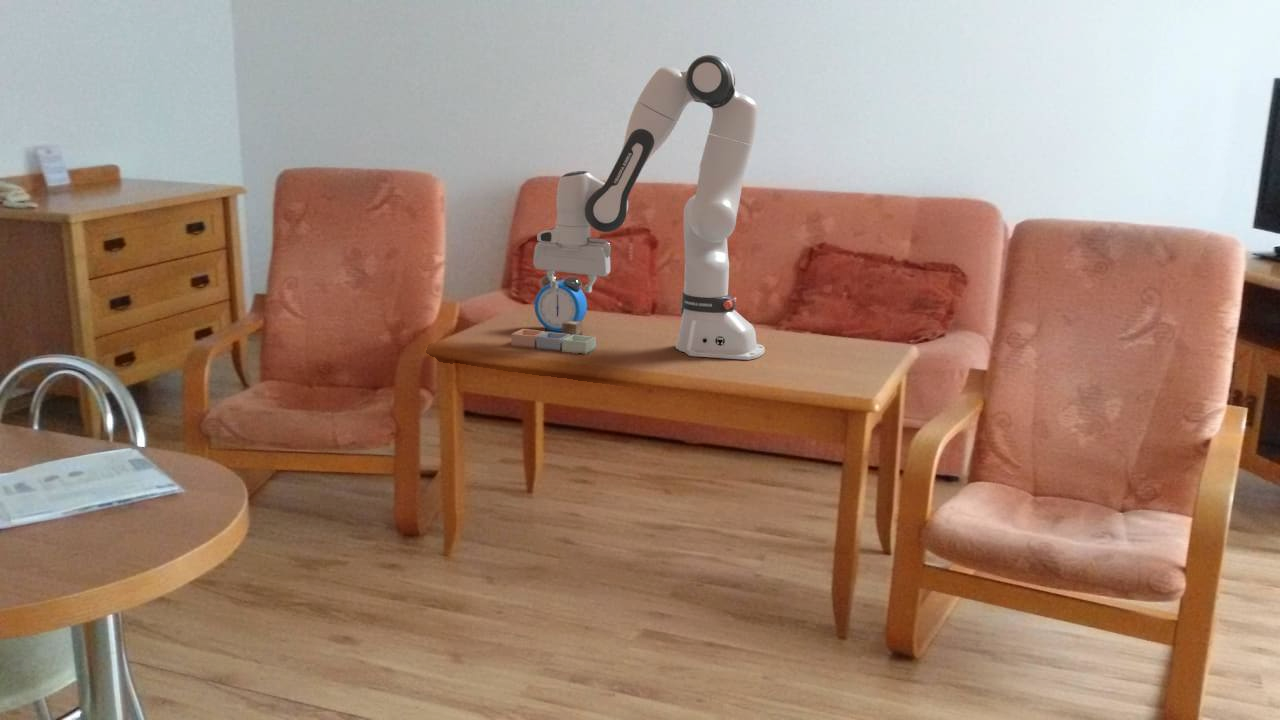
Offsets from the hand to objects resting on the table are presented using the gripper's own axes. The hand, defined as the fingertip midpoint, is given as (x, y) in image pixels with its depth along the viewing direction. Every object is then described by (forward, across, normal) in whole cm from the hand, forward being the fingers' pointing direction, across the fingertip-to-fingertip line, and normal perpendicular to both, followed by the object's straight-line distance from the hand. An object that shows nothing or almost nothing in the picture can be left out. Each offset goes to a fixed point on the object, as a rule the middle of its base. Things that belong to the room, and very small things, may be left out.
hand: (570, 290), depth 287 cm
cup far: (+14, +8, +8) cm, 17 cm away
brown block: (+14, -1, 0) cm, 14 cm away
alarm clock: (+14, +7, -10) cm, 19 cm away
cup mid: (+14, +1, +8) cm, 16 cm away
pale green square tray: (+13, -6, +8) cm, 17 cm away
